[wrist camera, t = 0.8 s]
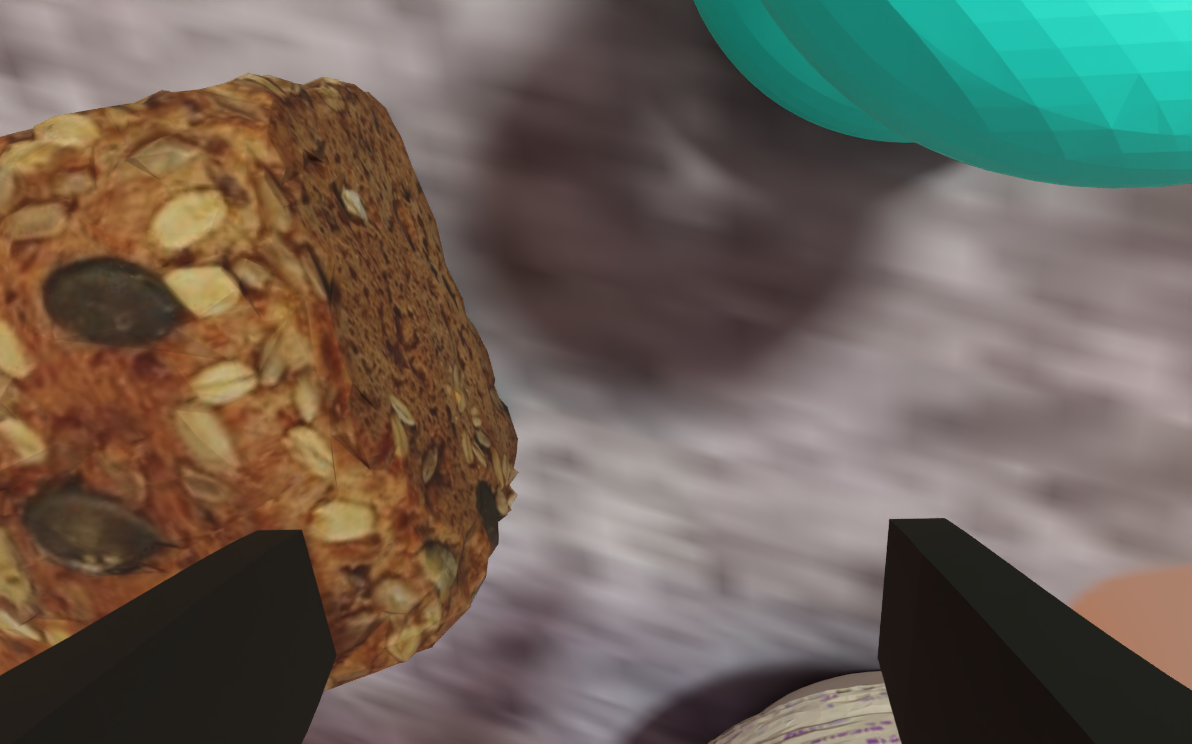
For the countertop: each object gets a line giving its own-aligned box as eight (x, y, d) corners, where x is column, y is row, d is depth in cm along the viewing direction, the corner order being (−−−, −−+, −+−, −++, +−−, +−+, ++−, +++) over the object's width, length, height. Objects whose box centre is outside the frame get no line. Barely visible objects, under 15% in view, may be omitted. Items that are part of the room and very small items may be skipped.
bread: (17, 581, 23) (-409, 908, 14) (-201, 277, 20) (-967, 445, 10) (549, 456, 20) (449, 781, 10) (401, 57, 16) (50, 17, 7)
